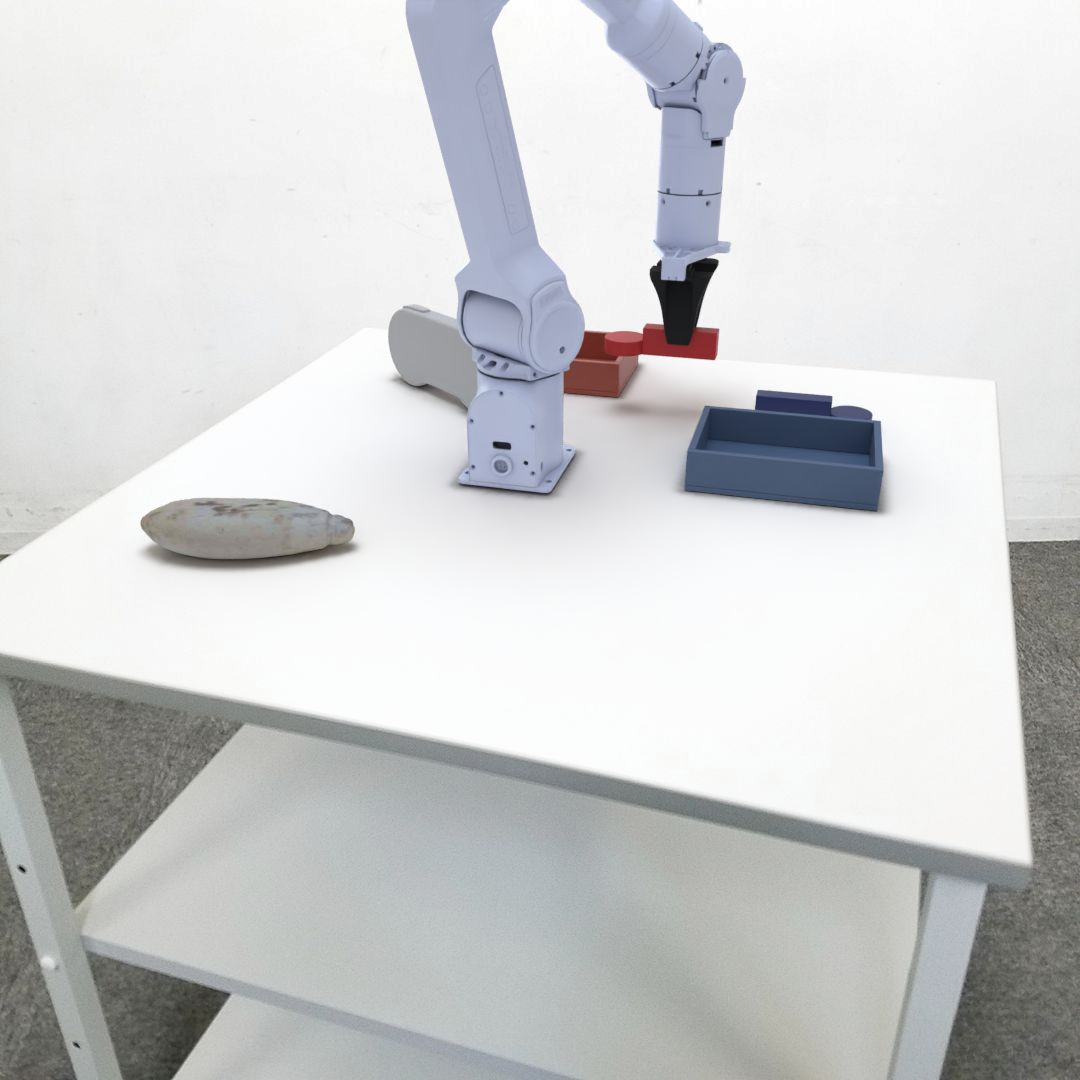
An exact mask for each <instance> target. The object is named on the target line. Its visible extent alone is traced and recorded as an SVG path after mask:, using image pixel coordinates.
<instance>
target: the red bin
mask: <svg viewBox="0 0 1080 1080" xmlns="http://www.w3.org/2000/svg"><path fill="white" fill-rule="evenodd" d="M611 332H612V331H600V330H587V329H585V332H584V338H583V342H582V345H581V348H580V350H579V352H578V354H577V355H576V357H575V358H574V360H573V361H572V362H571V363H570V367H569V370H568V371H564V394H577V395H588V396H598V397H610V398H619V396H621V393H622V392H623V390H624V388H625V387H626V385H627V384H628V382H629V380H630V379H631V377H632V375H633V374H634V373H635V370H636V369H637V368H638V366H639V355H638V356H630V357H623V356H615V355H611V354H608V353H606V352H605V350H604V345H605V335H606V334H608V333H611Z"/></svg>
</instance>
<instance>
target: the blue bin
mask: <svg viewBox="0 0 1080 1080" xmlns="http://www.w3.org/2000/svg"><path fill="white" fill-rule="evenodd" d="M703 406H704V407H703V409H702V412H701V414H700V416H699V420H698V422H697V425H696V427H695V430H694V432H693V435H692V438H691V440H690V442H689V445H688V448H687V451H686V460H685V475H684V491H687V492H696V493H707V494H715V495H726V496H733V497H734V496H735V497H742V498H743V497H744V498H752V499H760V500H761V499H762V500H770V501H771V500H772V501H781V502H791V503H798V504H807V505H817V506H825V507H837V508H846V509H854V510H864V511H865V510H866V511H871V512H872V511H873V512H877V511H878V508H879V501H880V494H881V489H882V488H881V487H882V483H883V478H884V477H883V476H884V471H885V470H884V456H883V455H884V454H883V435H882V434H883V433H882V421H881V420H875V419H872V420H865V419H853V418H842V417H831V416H819V415H808V414H796V413H785V412H774V411H762V410H755V409H751V408H737V407H727V406H715V405H703Z"/></svg>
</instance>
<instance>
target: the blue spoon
mask: <svg viewBox="0 0 1080 1080" xmlns="http://www.w3.org/2000/svg"><path fill="white" fill-rule="evenodd" d="M833 397H834V396H833V395H827V394H815V393H803V392H790V391H778V390H768V389H767V390H765V389H757V392H756V395H755V402H754V403H755V405H754V410H762V411H774V412H785V413H796V414H808V415H819V416H831V417H842V418H853V419H865V420H873V416H874V415H873V412H872V411H871V410H869V409H867V408H863V407H861V406H855V405H836V406H833Z"/></svg>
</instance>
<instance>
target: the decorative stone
mask: <svg viewBox="0 0 1080 1080" xmlns="http://www.w3.org/2000/svg"><path fill="white" fill-rule="evenodd" d="M140 527H141V530H142V531H143V532H144V533H145V535H146V536H147V537H148V538H149V539H151V541H152V542H154V543H155V544H157V545H158V546H160V547H162V548H164V549H165V550H168V551H171V552H173V553H176V554H180V555H184V556H189V557H194V558H201V559H211V560H250V559H263V558H271V557H281V556H290V555H295V554H300V553H301V554H302V553H306V552H311V551H317V550H321V549H325V548H326V547H328V546H329V545H330V546H337V545H342V544H345V543H348V542H351V541H352V540H353V538H354V535H355V532H356V526H354V522H353V520H352V519H351V518H348V517H345V516H343V515H341V514H331V513H330V511H328V510H327V509H323V508H320V507H317V506H314V505H310V504H306V503H301V502H296V501H291V500H284V499H275V498H259V497H258V498H256V497H255V498H254V497H252V498H249V497H248V498H247V497H241V498H240V497H194V498H186V499H179V500H173V501H170V502H168V503H166V504H163V505H161V506H159V507H156V508H155V509H153V510H151V511H149V512H147V514H145V515H144V516H142V518H141V520H140Z"/></svg>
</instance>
